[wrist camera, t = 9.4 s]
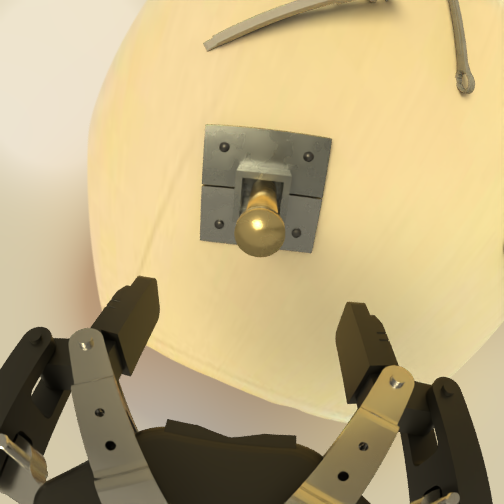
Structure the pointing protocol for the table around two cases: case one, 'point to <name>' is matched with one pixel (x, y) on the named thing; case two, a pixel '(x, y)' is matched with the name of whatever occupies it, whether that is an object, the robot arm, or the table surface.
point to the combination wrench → (461, 49)
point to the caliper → (267, 20)
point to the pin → (260, 222)
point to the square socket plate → (264, 168)
